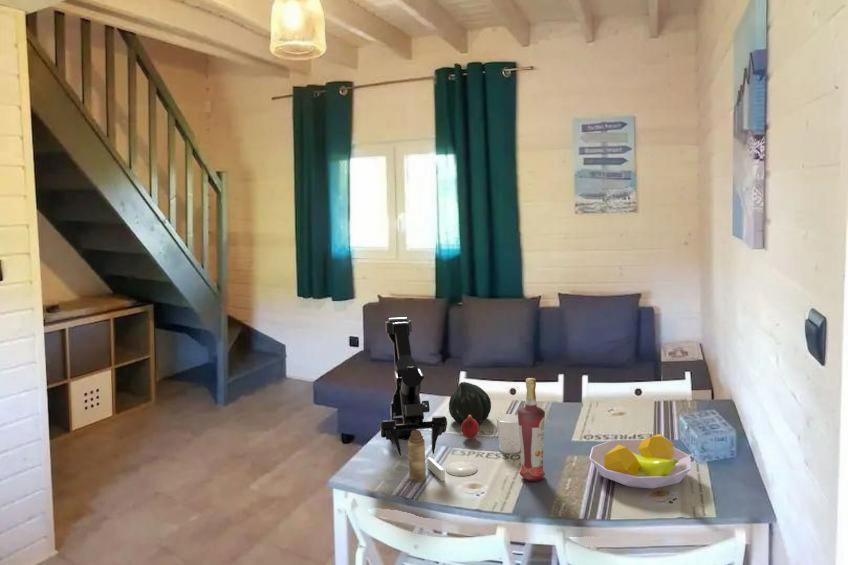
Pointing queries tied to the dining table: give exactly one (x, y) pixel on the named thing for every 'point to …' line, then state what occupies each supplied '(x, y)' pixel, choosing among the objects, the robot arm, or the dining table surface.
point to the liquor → (531, 435)
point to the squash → (469, 403)
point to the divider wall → (436, 469)
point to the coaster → (461, 468)
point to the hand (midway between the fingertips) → (417, 454)
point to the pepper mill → (416, 457)
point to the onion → (470, 427)
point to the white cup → (508, 433)
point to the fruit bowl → (641, 462)
